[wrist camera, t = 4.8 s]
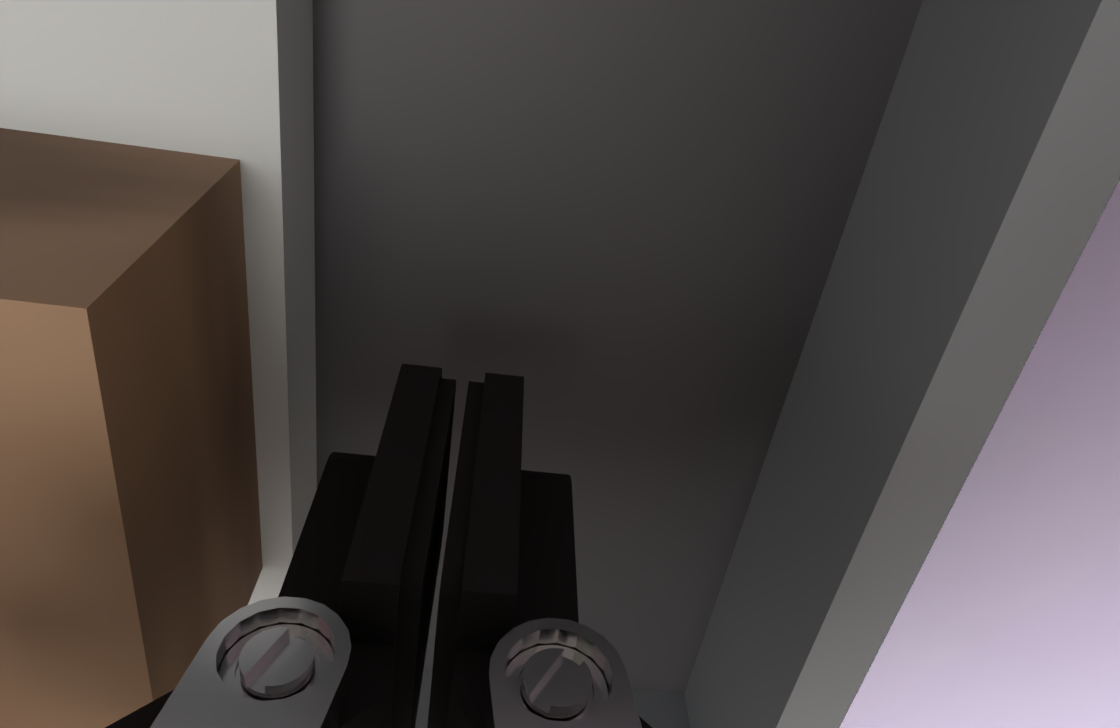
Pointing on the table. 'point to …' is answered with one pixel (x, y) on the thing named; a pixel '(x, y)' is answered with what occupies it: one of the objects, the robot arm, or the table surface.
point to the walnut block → (119, 423)
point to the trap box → (639, 272)
